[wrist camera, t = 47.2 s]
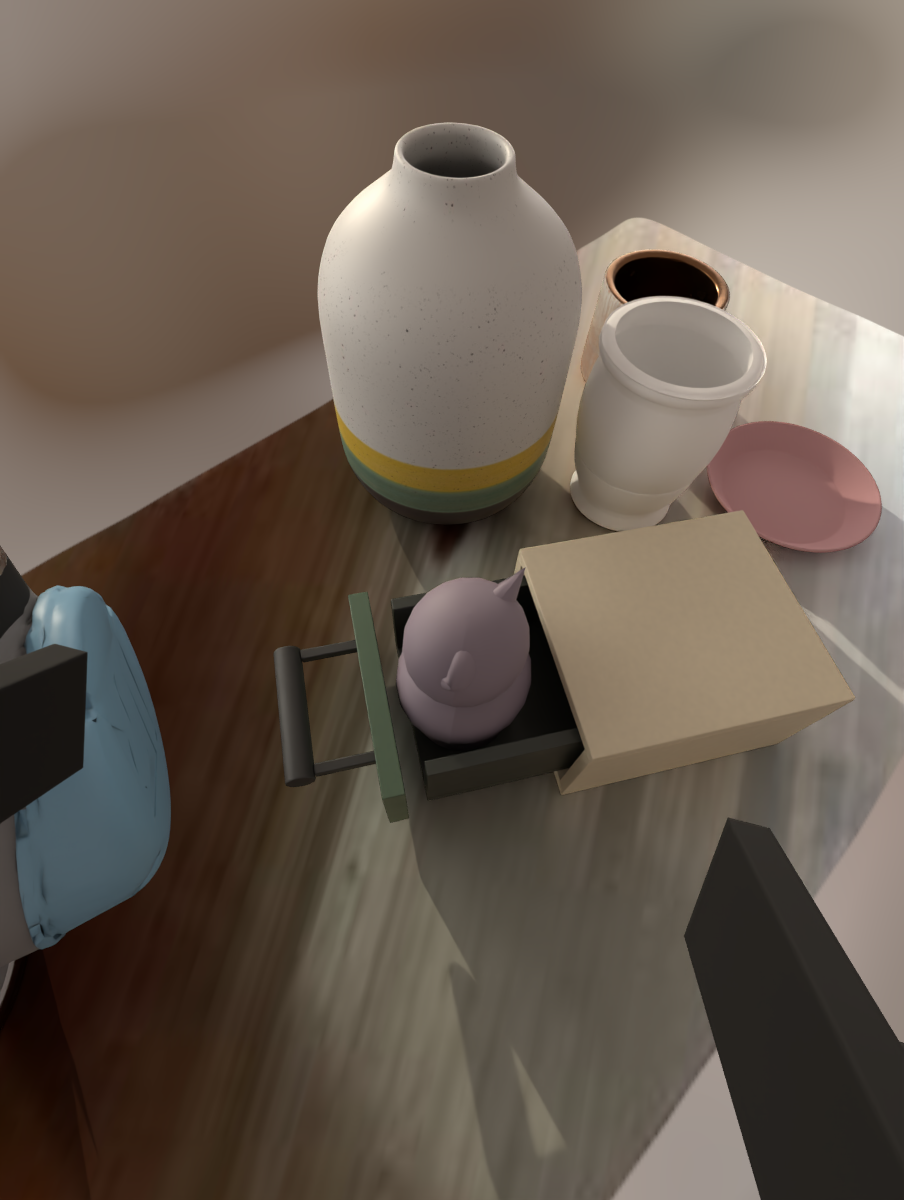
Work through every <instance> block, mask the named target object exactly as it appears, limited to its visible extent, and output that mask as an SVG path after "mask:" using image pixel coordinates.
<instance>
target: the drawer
mask: <svg viewBox="0 0 904 1200" xmlns="http://www.w3.org/2000/svg"><path fill="white" fill-rule="evenodd" d="M506 579H507V578H506ZM504 580H505V579H500V580H495V581H492V582H495V583H497V584H499V583H500V582H502V581H504ZM425 595H426V593H423V594H417V595H412V596H406V597H401V598H395V599H391V606H392V615H393V624H394V633H395V642H396V648H397V653H398V658H400V656H401V653H402V648H403V638H404V629H405V626H406V623H407V621H408V619H409V617H410V615H411V612H412V610H413V608H414V607H415V606H416V605H417V603H418V602H419V601H420V600H421V599H422V598H423V597H424V596H425ZM348 598H349V604H350V610H351V616H352V622H353V628H354V634H355V640H352V641H347V642H341V643H336V644H331V645H326V646H320V647H315V648H310V649H304V650H300V649H299V648H298V647H295V646H285V647H281V648H278V649H277V650H275V652H274V663H275V674H276V685H277V696H278V707H279V718H280V730H281V741H282V752H283V763H284V774H285V784H286V786H289V787H299V786H304V785H308V784H310V783H312V782H314V781H315V779H316V777H315V775H316V776H322V775H327V774H331V773H336V772H340V771H345V770H349V769H354V768H358V767H363V766H367V765H372V764H376V765H377V771H378V777H379V783H380V789H381V795H382V800H383V803H384V806H385V809H386V812H387V815H388V818H389V821H390V823H391V822H396V821H400V820H404V819H408V818H409V814H408V808H407V801H406V795H405V790H404V784H403V779H402V774H401V768H400V763H399V757H398V752H397V747H396V741H395V736H394V731H393V725H392V720H391V715H390V709H389V704H388V698H387V693H386V688H385V682H384V677H383V672H382V666H381V661H380V656H379V650H378V645H377V640H376V634H375V629H374V623H373V618H372V613H371V607H370V602H369V597H368V592H363V593H358V594H352V595H348ZM516 600H517V602H518V603H519V604H520V605H521V607H522V608H523V611H524V614H525V616H526V619H527V622H528V625H529V636H530V648H529V652H528V653H529V656H530V659H531V685H530V688H529V692H528V695H527V698H526V701H525V704H524V706H523V707H522V708H521V710H520V711H519V713H518V714H517V715H516V717H515V718H514V720H513V721H512V722H511V724H510V725H508V726H507V727H506V728H504V729H503V730H502V731H500V733H499V734H498V735H497V737H496V738H495V739H493V740H492V741H490V742H489V743H487V744H486V745H484V746H483V747H479V748H476V749H473V750H469V751H459V750H450V749H447V748H445V747H442V746H439V745H437V744H436V743H434V742H433V741H432V740H430V739H429V738H428V737H426V736H425V734H424V733H423V732H422V731H420V730H419V729H418V728H417V727H415V726H414V725H413V724H412V726H413V731H414V736H415V741H416V746H417V751H418V756H419V761H420V766H421V771H422V775H423V780H424V785H425V790H426V795H427V800H428V801H429V800H434V799H438V798H442V797H447V796H451V795H455V794H459V793H464V792H468V791H472V790H477V789H481V788H485V787H490V786H494V785H498V784H503V783H507V782H511V781H516V780H520V779H524V778H529V777H533V776H537V775H541V774H546V773H550V772H554V771H559V770H563V769H567V768H570V767H571V766H572V765H573V763H574V762H575V761H576V760H577V758H578V757H579V756H580V755H581V753H582V752H583V751H584V750H585V748H584V745H583V742H582V740H581V737H580V734H579V731H578V728H577V725H576V722H575V719H574V716H573V713H572V711H571V708H570V705H569V702H568V699H567V696H566V693H565V690H564V687H563V684H562V682H561V679H560V676H559V673H558V670H557V667H556V664H555V661H554V658H553V655H552V653H551V650H550V647H549V644H548V641H547V638H546V635H545V632H544V629H543V626H542V624H541V621H540V618H539V615H538V612H537V609H536V606H535V603H534V600H533V598H532V595H531V592H530V589H529V586H528V583H527V580H526V577H525V575H523V578H522V582H521V585H520V588H519V592H518V595H517V599H516ZM355 652H358V658H359V664H360V669H361V675H362V681H363V687H364V693H365V699H366V705H367V711H368V717H369V723H370V729H371V735H372V741H373V747H374V751H371V752H366V753H362V754H357V755H352V756H348V757H343V758H339V759H334V760H329V761H325V762H320V763H315V764H314V760H313V751H312V743H311V734H310V725H309V717H308V708H307V699H306V690H305V682H304V673H303V664H302V661H303V662H308V661H314V660H319V659H324V658H329V657H334V656H340V655H345V654H350V653H355Z"/></svg>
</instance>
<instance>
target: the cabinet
mask: <svg viewBox="0 0 904 1200" xmlns="http://www.w3.org/2000/svg"><path fill="white" fill-rule="evenodd" d="M525 567H526V568H525ZM523 568H525V571H524V575H525V577H526V580H527V583H528V586H529V589H530V592H531V595H532V598H533V600H534V603H535V606H536V609H537V612H538V615H539V618H540V621H541V624H542V626H543V629H544V632H545V635H546V638H547V641H548V644H549V647H550V650H551V653H552V655H553V658H554V661H555V664H556V667H557V670H558V673H559V676H560V679H561V682H562V684H563V687H564V690H565V693H566V696H567V699H568V702H569V705H570V708H571V711H572V713H573V716H574V719H575V722H576V725H577V728H578V731H579V734H580V737H581V740H582V742H583V745H584V748H585V750H584V751H583V752H582V753H581V755H580V756H579V757H578V758H577V760H576V761H575V762H574V763H573V765H572V766H571V767H570V768H567V769H563V770H559V771H554V774H555V778H556V781H557V784H558V787H559V790H560V793H561V795H564V794H568V793H573V792H577V791H581V790H585V789H589V788H594V787H598V786H602V785H606V784H610V783H615V782H619V781H623V780H627V779H631V778H636V777H640V776H644V775H648V774H652V773H657V772H661V771H665V770H669V769H673V768H678V767H682V766H686V765H690V764H694V763H699V762H703V761H707V760H711V759H715V758H720V757H724V756H728V755H732V754H736V753H741V752H745V751H749V750H753V749H757V748H762V747H766V746H770V745H774V744H778V743H780V742H781V741H783V740H785V739H787V738H788V737H790V736H792V735H794V734H795V733H797V732H799V731H801V730H802V729H804V728H806V727H808V726H809V725H811V724H813V723H815V722H816V721H818V720H820V719H822V718H823V717H825V716H827V715H829V714H830V713H832V712H834V711H836V710H837V709H839V708H841V707H843V706H844V705H846V704H848V703H849V702H851V701H853V700H855V696H854V694H853V693H852V691H851V689H850V688H849V686H848V684H847V683H846V681H845V679H844V678H843V676H842V674H841V673H840V671H839V669H838V668H837V666H836V664H835V663H834V661H833V659H832V658H831V656H830V654H829V653H828V651H827V649H826V648H825V646H824V644H823V643H822V641H821V639H820V638H819V636H818V634H817V633H816V631H815V629H814V628H813V626H812V624H811V623H810V621H809V619H808V618H807V616H806V614H805V613H804V611H803V609H802V608H801V606H800V604H799V603H798V601H797V599H796V598H795V596H794V594H793V593H792V591H791V589H790V588H789V586H788V584H787V583H786V581H785V579H784V578H783V576H782V574H781V573H780V571H779V569H778V568H777V566H776V564H775V563H774V561H773V559H772V558H771V556H770V554H769V553H768V551H767V549H766V548H765V546H764V544H763V543H762V541H761V539H760V538H759V536H758V534H757V533H756V531H755V529H754V528H753V526H752V524H751V523H750V521H749V519H748V518H747V516H746V514H745V513H744V511H743V510H741V511H735V512H729V513H724V514H718V515H712V516H706V517H701V518H695V519H689V520H683V521H678V522H672V523H666V524H660V525H655V526H649V527H643V528H637V529H632V530H626V531H620V532H614V533H609V534H603V535H597V536H591V537H586V538H580V539H574V540H568V541H563V542H557V543H551V544H546V545H540V546H534V547H528V548H523V549H520V550H519V554H518V558H517V562H516V567H515V571H514V574H515V573H517V572H518V571H520V570H521V569H523Z"/></svg>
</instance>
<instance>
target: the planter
mask: <svg viewBox="0 0 904 1200" xmlns="http://www.w3.org/2000/svg"><path fill="white" fill-rule="evenodd" d="M653 296H674V297H683V298H689V299H693V300H698V301H701V302H705V303H708V304H710V305H713V306H716V307H718V308H720V309H722V310H724V311H725V310H726V308H727V306H728V303H729V300H730V292H729V288H728V285H727V284H726V282H725V280H724V279H723V278H722V276H721V275H720V274H719V273H718V272H717V271H716V270H714V269H713V268H712V267H710V266H709V265H707V264H706V263H704V262H702V261H700V260H698V259H696V258H694V257H691V256H688V255H685V254H682V253H678V252H674V251H668V250H658V249H648V250H638V251H633V252H630V253H627V254H624V255H622V256H620V257H618V258H616V259H615V260H614V261H612V262H611V263H610V265H609V266H608V267H607V269H606V271H605V274H604V278H603V282H602V285H601V289H600V293H599V297H598V300H597V304H596V308H595V311H594V315H593V318H592V322H591V325H590V329H589V332H588V336H587V339H586V343H585V346H584V350H583V354H582V358H581V373H582V376H583V379H584V381H585V382H587V380H588V377H589V375H590V373H591V370H592V368H593V366H594V364H595V362H596V360H597V358H598V357H599V355H600V352H599V336H600V332H601V330H602V327H603V325H604V323H605V321H606V319H607V318H608V316H609V315H610V314H611V313H612V312H613V311H614V310H615V309H617V308H618V307H620V306H622V305H623V304H625V303H628V302H630V301H633V300H636V299H640V298H646V297H653Z"/></svg>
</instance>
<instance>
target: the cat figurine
mask: <svg viewBox="0 0 904 1200" xmlns="http://www.w3.org/2000/svg"><path fill="white" fill-rule="evenodd" d="M525 568H526V567H525ZM525 568H523V569H521V570H520V571H518V572H517V573H515V574H513V575H512V576H510V577H509V578H507V579H505V580H504V581H502V582H500V583H499V584H497V583H495V582H492V581H489V580H485V579H482V578H462V577H461V578H458V579H454V580H450V581H447V582H444V583H442V584H441V585H439V586H437V587H436V588H434V589H432V590H431V591H429V592H428V593H426V595H425V596H424V597H423V598H422V599H421V600H420V601H419V602H418V603H417V605H416V606H415V607H414V608H413V610H412V612H411V615H410V617H409V619H408V621H407V623H406V626H405V629H404V638H403V648H402V653H401V656H400V658H399V660H398V668H397V678H396V687H397V691H398V696H399V700H400V705H401V707H402V708H403V710H404V712H405V713H406V715H407V716H408V718H409V719H410V721H411V723H412V724H413V725H414V726H415V727H417V728H418V729H419V730H420V731H422V732H423V733H424V734H425V736H426V737H428V738H429V739H430V740H432V741H433V742H434V743H436V744H437V745H439V746H442V747H445V748H447V749H450V750H459V751H469V750H473V749H476V748H479V747H483V746H484V745H486V744H487V743H489V742H490V741H492V740H493V739H495V738H496V737H497V735H498V734H499V733H500V731H502V730H503V729H504V728H506V727H507V726H508V725H510V724H511V722H512V721H513V720H514V718H515V717H516V715H517V714H518V713H519V711H520V710H521V708H522V707H523V706H524V704H525V701H526V698H527V695H528V692H529V688H530V685H531V659H530V656H529V653H528V652H529V648H530V636H529V625H528V622H527V619H526V616H525V614H524V611H523V608H522V607H521V605H520V604H519V603H518V602H517V600H516V599H517V595H518V592H519V588H520V585H521V582H522V578H523V575H524V571H525Z"/></svg>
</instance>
